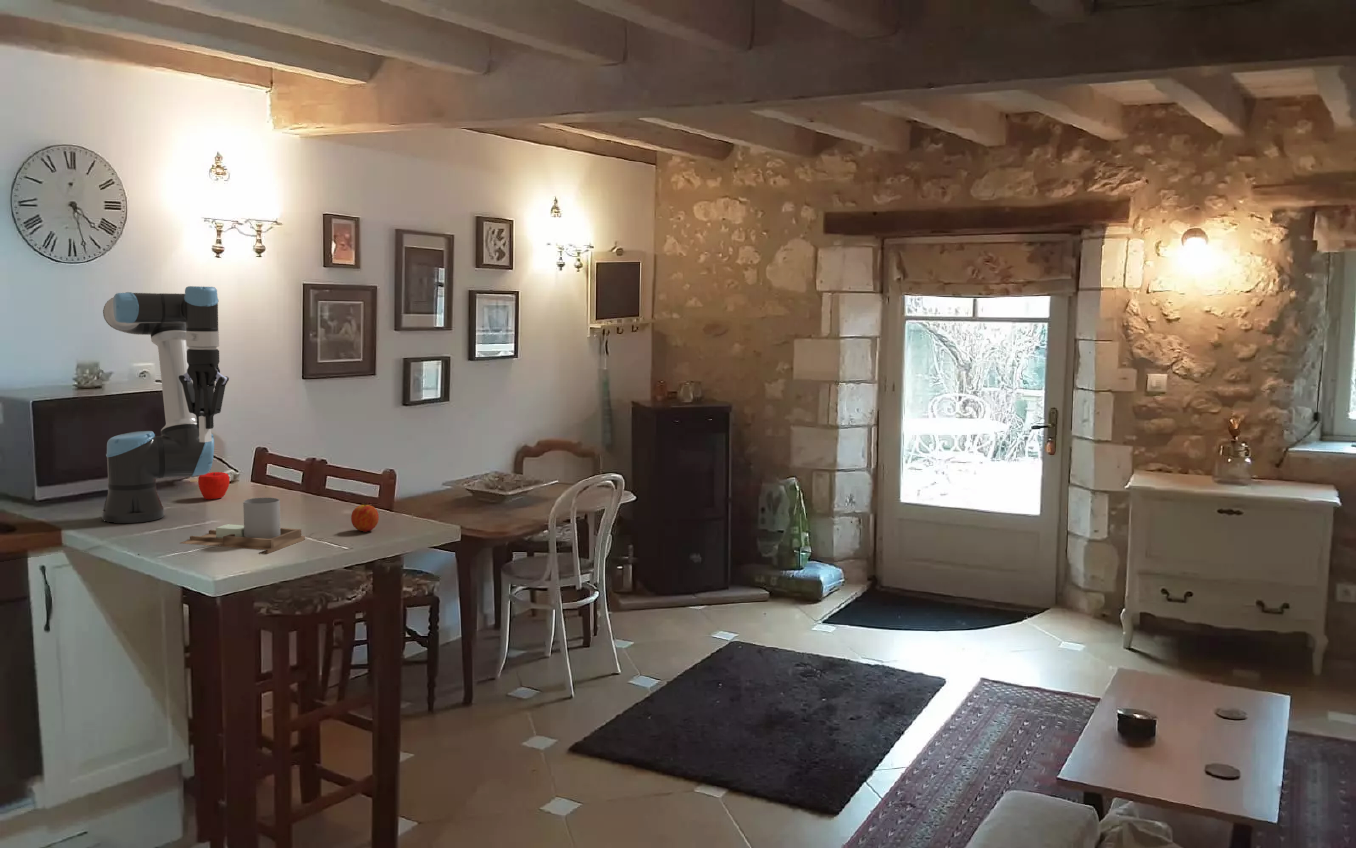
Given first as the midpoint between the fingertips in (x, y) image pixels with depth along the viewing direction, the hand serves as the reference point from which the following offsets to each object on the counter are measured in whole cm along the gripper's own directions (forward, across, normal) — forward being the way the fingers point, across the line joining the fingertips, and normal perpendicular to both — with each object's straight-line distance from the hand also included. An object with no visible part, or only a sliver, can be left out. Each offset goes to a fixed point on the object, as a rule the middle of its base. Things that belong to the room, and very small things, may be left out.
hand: (205, 441), depth 275 cm
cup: (+23, +20, -6) cm, 31 cm away
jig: (+24, +14, -6) cm, 29 cm away
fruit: (+24, +35, +16) cm, 46 cm away
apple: (+25, -30, +44) cm, 59 cm away
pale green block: (+23, +12, -6) cm, 27 cm away
